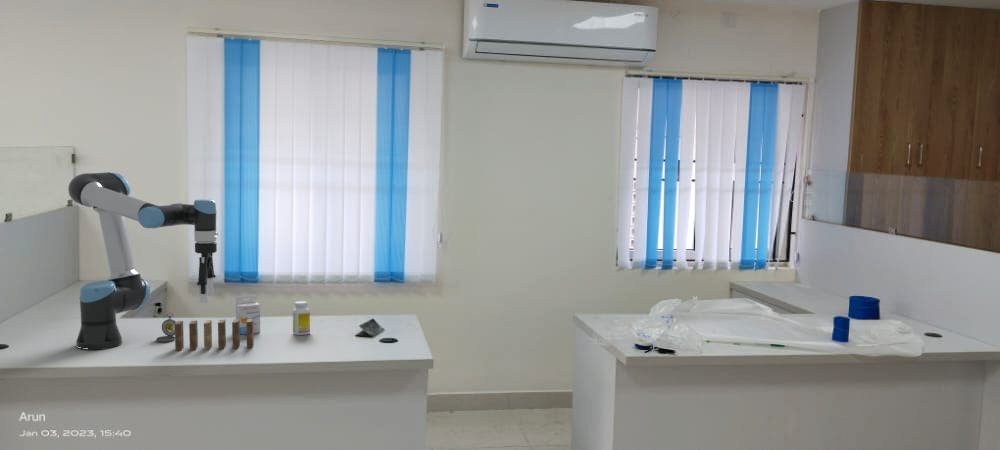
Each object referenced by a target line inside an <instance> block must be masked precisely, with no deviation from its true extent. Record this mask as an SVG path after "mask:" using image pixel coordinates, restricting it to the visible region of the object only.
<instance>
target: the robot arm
mask: <svg viewBox="0 0 1000 450" xmlns="http://www.w3.org/2000/svg"><path fill="white" fill-rule="evenodd" d="M67 189H68V195H69V197H70V199H71V200H72V201H73V202H75V203H76V204H79V205H80V206H84V207H87V208H92V210H93V211H94V212H96V213H97V214H98V216H99V221H100V227H101V232H102V237H103V241H104V246H105V252H106V257H107V261H108V266H109V272H110V275H109V277H108V278H107V279H106V280H99V281H92V282H89V283H86V284H84V285H82V287H81V288H80V292H79V305H80V328H79V333H78V335H77V337H76V342H75V343H76V347H77V346H78V347H81V348H88V349H98V350H103V349H102V348H107V349H111V347H112V348H116V347H118V346H120V345H122V343H123V339H122V338H123V337H122V334H121V332H120V330H119V327H118V324H117V314H119V313H124V312H130V311H134V310H137V309H140V308H142V307H144V306H146V304H147V302H148V301H149V300H150V296H151V287H150V285H149V283H148V281H147V280H146V279H144V278H142V277H141V272H139V271H137V270H136V269H135V264H134V260H133V253H132V248H131V243H130V238H129V233H128V230H127V229H128V228H127V224H126V219H125V218H127V219H131V220H133V221H136V222H138V223H139V224H140V225H141V226H142V227H143V228H144V229H158V228H165V227H174V226H183V225H186V226H187V225H189V226H194V233H193V234H194V236H193V237H194V241H195V243H194V253H196V254H201V255H200V257H199V258H198V259H199V264H198V265H199V266H198V281H197V282H196V285H197V286H199V287H198V288H199V293H198V294H199V297H198V298H199V303H200V304H203V303H204V304H206V303H207V304H208V302H209V299H208V298H209V296H214V295H215V294H214V292H215V291H214V290H215V289H214V286H215V285H214V278H216V274H215V271H214V268H215V267H214V259H213V255H214V253H217V250H218V248H217V244H218V243H217V236H219V233H218V232H217V207H216V201H215V200H213V199H195V200H194V201H193V204H186V203H179V202H178V203H172V204H169V205H167V204H166V205H157V204H154V203H151V202H147V201H144V200H142V199H138V198H135V197H132V196H130V194H131V188H130V184H129V182H128V180H127V179H126V178H125V177H124V176H123V175H121V173H117V172H97V173H96V172H95V173H89V172H88V173H81V174H78V175H75V177H74V178H72V179H71V181H70V182H69V184H68V188H67Z"/></svg>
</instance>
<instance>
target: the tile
mask: <svg viewBox="0 0 1000 450" xmlns="http://www.w3.org/2000/svg"><path fill="white" fill-rule="evenodd" d="M212 331H213V327H212V319H206V320H205V321H204V322H203V348H204V349H203V350H204V351H207V350H208V351H211V349H212V347H213V332H212Z"/></svg>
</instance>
